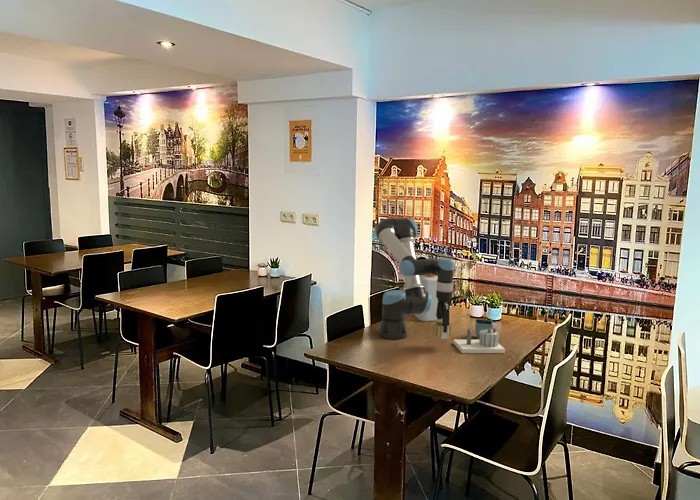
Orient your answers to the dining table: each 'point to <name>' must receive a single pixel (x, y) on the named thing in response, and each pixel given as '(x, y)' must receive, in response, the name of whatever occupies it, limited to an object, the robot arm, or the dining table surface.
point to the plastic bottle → (431, 287)
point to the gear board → (480, 343)
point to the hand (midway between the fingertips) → (441, 335)
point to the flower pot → (482, 326)
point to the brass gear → (440, 329)
